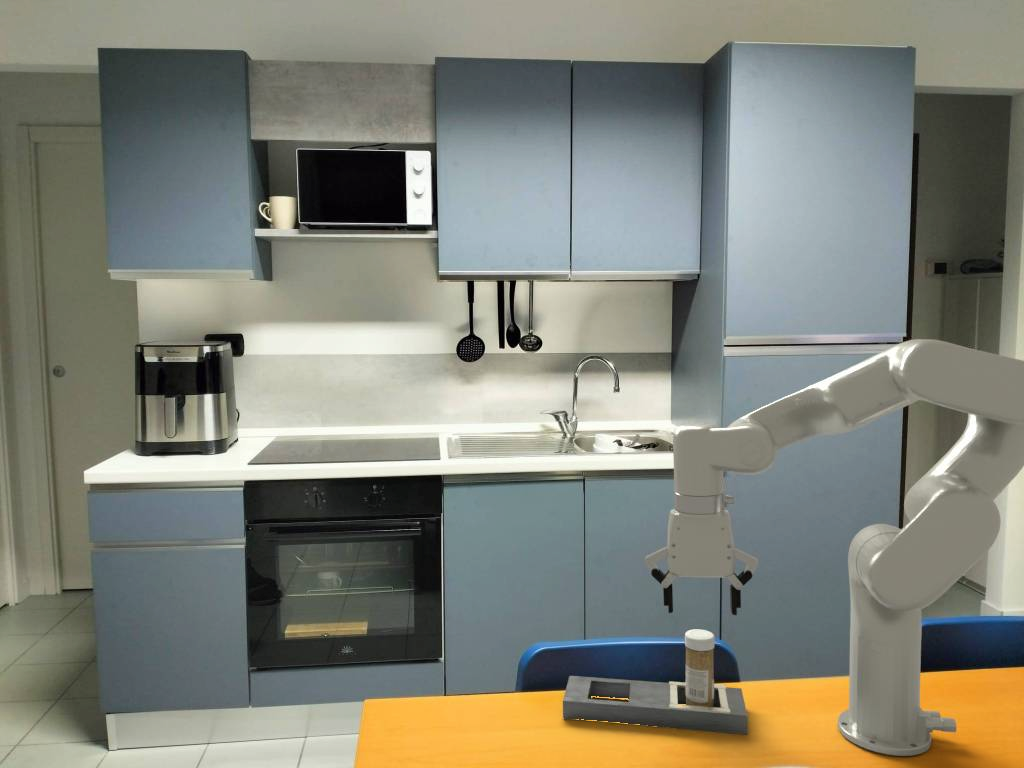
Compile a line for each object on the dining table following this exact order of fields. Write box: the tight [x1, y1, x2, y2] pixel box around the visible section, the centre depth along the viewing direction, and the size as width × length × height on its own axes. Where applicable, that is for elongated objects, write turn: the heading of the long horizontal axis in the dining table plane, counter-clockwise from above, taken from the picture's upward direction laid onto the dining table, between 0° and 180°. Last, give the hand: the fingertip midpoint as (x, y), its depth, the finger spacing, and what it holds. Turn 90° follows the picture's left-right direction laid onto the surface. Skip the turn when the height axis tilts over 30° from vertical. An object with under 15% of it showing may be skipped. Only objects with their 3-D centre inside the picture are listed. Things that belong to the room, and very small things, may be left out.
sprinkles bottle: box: [684, 628, 716, 707], centre depth 120 cm, size 5×5×14 cm
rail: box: [562, 675, 748, 736], centre depth 122 cm, size 28×9×3 cm, turn 79°
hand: (701, 611), depth 119 cm, fingers open, 9 cm apart
